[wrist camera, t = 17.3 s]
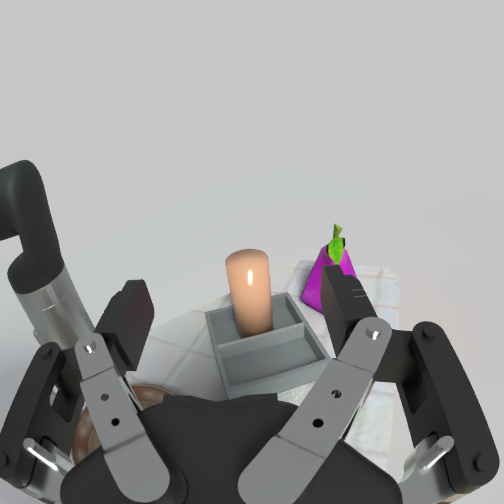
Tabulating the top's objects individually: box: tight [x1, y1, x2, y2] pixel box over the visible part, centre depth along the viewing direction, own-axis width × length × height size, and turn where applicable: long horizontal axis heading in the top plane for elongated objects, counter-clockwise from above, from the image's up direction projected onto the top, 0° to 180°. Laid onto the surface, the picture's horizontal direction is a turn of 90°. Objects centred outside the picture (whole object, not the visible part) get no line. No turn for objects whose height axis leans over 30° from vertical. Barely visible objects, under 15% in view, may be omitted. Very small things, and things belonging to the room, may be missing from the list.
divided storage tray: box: [205, 292, 331, 400], centre depth 41 cm, size 14×16×4 cm
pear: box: [301, 224, 357, 315], centre depth 47 cm, size 11×11×15 cm
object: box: [71, 384, 175, 466], centre depth 27 cm, size 18×18×3 cm
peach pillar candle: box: [225, 249, 274, 339], centre depth 42 cm, size 6×6×13 cm
